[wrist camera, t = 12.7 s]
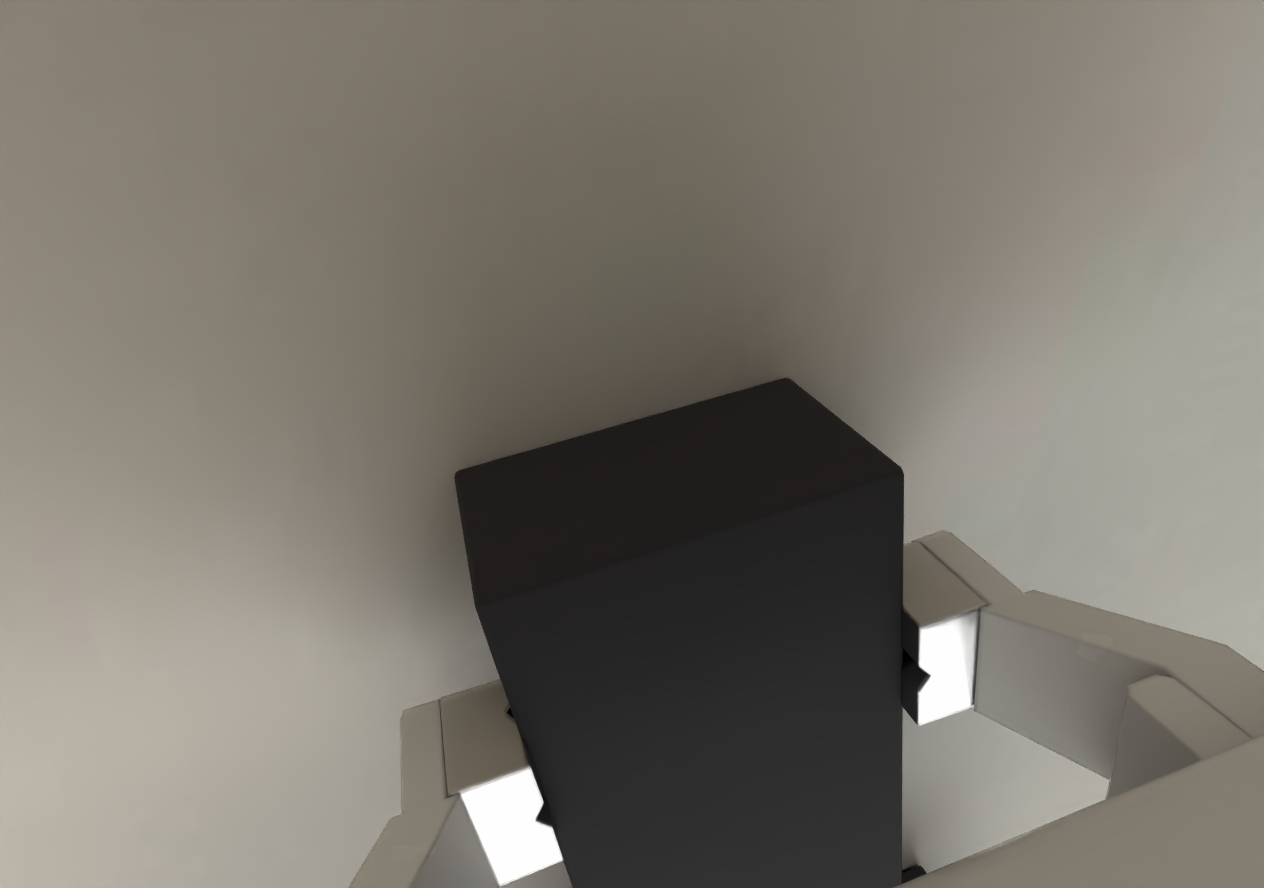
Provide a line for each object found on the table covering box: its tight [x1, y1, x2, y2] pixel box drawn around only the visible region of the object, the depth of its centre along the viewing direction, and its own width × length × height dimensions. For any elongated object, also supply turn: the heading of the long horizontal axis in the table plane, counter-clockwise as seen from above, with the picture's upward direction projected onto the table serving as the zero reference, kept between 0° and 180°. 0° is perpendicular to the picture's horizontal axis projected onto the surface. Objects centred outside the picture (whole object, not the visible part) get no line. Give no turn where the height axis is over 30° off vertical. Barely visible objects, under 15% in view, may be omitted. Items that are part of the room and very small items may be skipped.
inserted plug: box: [455, 378, 904, 888], centre depth 13 cm, size 16×5×3 cm, turn 10°
